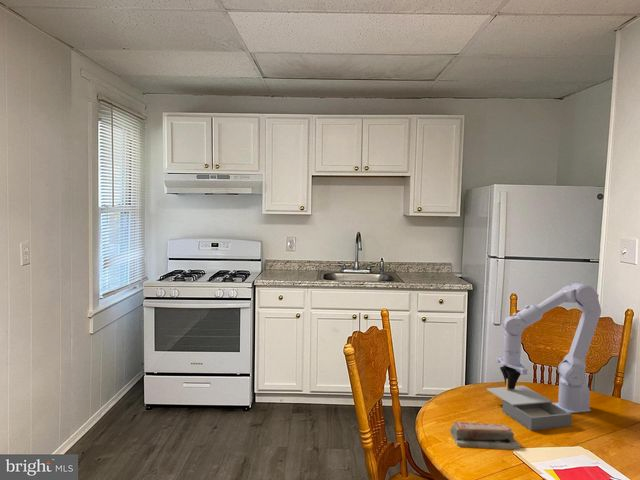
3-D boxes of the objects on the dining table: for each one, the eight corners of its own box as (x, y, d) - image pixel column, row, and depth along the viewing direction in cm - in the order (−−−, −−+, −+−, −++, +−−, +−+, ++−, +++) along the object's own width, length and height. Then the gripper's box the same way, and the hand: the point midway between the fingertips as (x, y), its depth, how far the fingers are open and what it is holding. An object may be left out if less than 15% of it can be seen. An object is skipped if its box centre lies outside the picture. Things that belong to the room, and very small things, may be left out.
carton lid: (523, 386, 173) (523, 374, 173) (551, 402, 159) (552, 389, 159) (486, 389, 169) (487, 377, 169) (512, 405, 155) (513, 392, 155)
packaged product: (457, 431, 135) (449, 416, 145) (456, 448, 136) (449, 432, 146) (521, 434, 134) (509, 419, 144) (520, 451, 135) (508, 435, 145)
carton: (539, 408, 164) (540, 396, 164) (571, 426, 151) (571, 414, 150) (502, 411, 161) (502, 400, 160) (531, 430, 147) (531, 418, 147)
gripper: (489, 345, 174) (488, 381, 174) (515, 357, 160) (513, 396, 160) (506, 344, 175) (504, 380, 176) (533, 356, 161) (531, 394, 162)
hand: (510, 387), depth 168 cm, fingers closed, pressing on carton lid
